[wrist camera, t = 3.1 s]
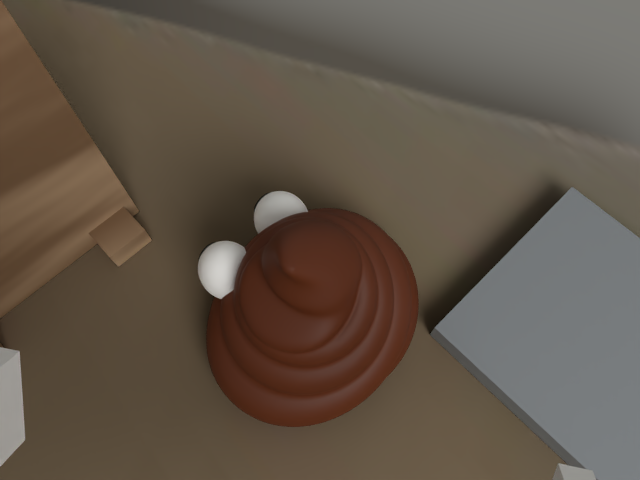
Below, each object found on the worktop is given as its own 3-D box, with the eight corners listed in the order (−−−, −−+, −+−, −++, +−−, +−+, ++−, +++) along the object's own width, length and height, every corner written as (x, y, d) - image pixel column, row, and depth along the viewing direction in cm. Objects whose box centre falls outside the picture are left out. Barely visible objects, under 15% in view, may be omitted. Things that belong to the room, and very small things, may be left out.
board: (429, 334, 26) (434, 327, 25) (562, 198, 28) (572, 186, 27) (617, 510, 23) (632, 511, 22) (745, 339, 25) (764, 332, 24)
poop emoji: (303, 475, 23) (291, 465, 15) (168, 335, 26) (91, 259, 17) (452, 305, 26) (514, 216, 18) (318, 194, 29) (317, 69, 20)
